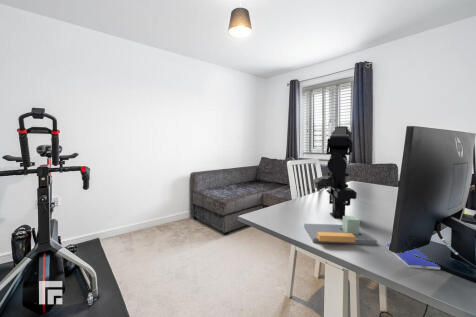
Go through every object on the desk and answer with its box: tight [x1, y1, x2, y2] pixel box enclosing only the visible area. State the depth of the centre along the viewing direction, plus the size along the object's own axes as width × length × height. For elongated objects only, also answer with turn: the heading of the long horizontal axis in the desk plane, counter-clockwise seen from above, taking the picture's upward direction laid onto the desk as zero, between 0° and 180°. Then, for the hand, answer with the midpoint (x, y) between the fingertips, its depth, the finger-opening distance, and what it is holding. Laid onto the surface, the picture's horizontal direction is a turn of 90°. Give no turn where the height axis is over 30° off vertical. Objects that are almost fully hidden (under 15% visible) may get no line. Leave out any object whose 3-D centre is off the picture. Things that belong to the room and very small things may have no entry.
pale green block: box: [341, 215, 361, 235], centre depth 83 cm, size 4×4×7 cm
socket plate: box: [303, 223, 378, 246], centre depth 84 cm, size 14×22×2 cm, turn 86°
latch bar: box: [317, 232, 355, 242], centre depth 76 cm, size 3×12×2 cm, turn 86°
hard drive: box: [385, 243, 441, 270], centre depth 68 cm, size 2×8×12 cm
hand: (336, 210), depth 81 cm, fingers closed
